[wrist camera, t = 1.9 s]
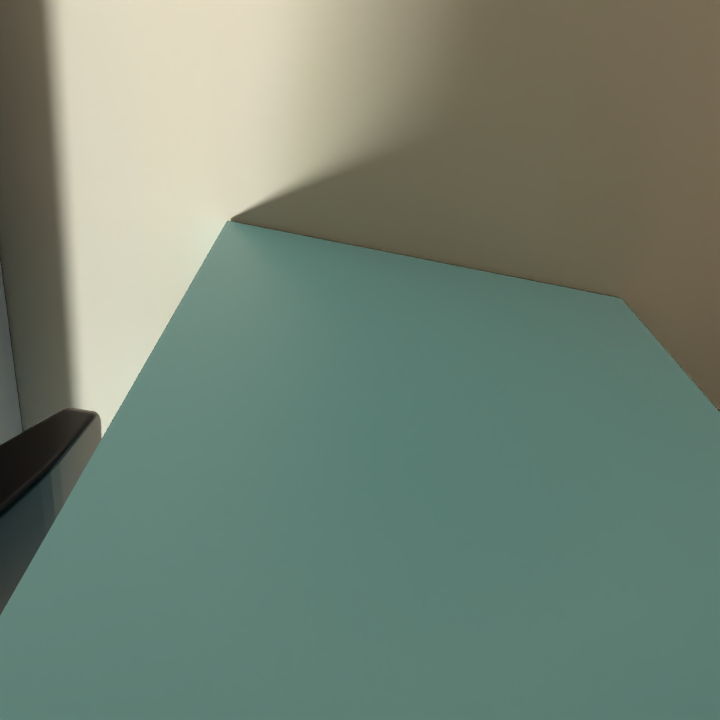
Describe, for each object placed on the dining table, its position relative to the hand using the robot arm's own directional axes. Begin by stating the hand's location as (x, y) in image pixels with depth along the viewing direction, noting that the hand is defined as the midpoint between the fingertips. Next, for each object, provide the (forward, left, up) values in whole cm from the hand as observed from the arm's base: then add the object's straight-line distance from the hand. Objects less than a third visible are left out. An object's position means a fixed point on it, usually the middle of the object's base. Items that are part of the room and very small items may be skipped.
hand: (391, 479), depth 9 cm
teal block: (0, 0, -1) cm, 1 cm away
